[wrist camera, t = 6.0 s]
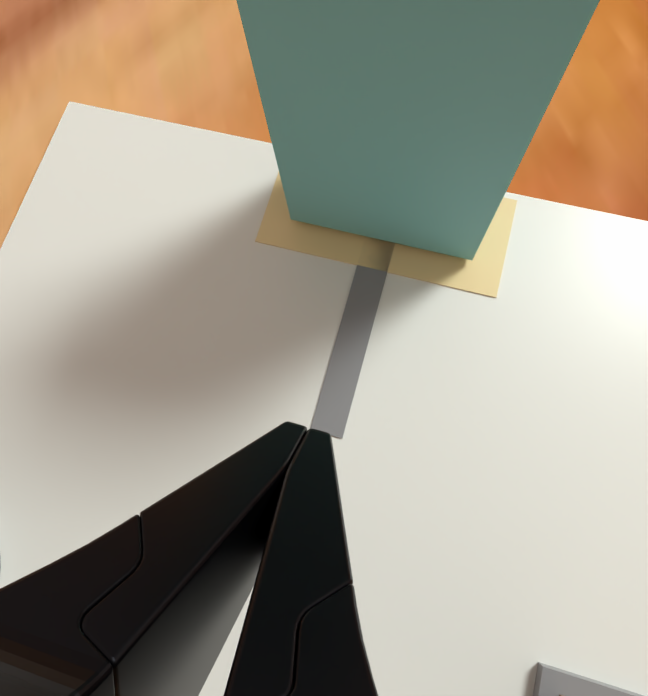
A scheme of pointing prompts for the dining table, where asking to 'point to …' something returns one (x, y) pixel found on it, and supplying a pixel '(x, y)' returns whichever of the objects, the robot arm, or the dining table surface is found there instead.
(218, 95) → the dining table surface
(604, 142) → the dining table surface
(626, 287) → the console
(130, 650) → the robot arm
